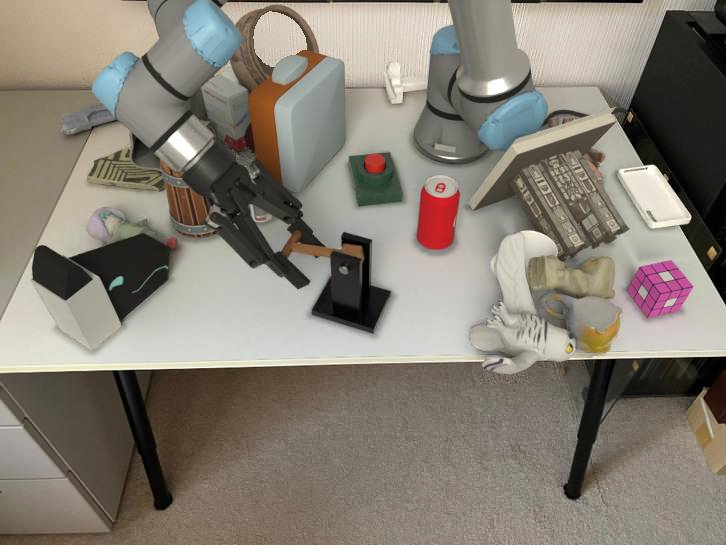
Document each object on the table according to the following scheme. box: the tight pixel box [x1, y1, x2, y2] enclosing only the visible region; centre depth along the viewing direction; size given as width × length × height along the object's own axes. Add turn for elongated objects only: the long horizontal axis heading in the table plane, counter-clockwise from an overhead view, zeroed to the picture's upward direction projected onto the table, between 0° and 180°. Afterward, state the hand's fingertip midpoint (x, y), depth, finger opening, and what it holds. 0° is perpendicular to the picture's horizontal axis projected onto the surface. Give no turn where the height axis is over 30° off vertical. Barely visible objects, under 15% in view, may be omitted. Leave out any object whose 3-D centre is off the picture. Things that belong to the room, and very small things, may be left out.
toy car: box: [221, 61, 243, 87], centre depth 135 cm, size 6×12×7 cm, turn 159°
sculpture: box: [528, 254, 616, 300], centre depth 93 cm, size 6×7×15 cm
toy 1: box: [86, 206, 178, 249], centre depth 103 cm, size 11×5×15 cm
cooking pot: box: [229, 4, 320, 94], centre depth 130 cm, size 25×19×12 cm
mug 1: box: [160, 120, 230, 239], centre depth 105 cm, size 16×11×15 cm
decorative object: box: [29, 233, 171, 352], centre depth 91 cm, size 8×18×15 cm, turn 147°
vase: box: [128, 75, 215, 172], centre depth 121 cm, size 12×12×30 cm
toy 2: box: [468, 231, 577, 375], centre depth 88 cm, size 24×13×15 cm
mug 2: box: [539, 291, 623, 355], centre depth 91 cm, size 12×7×7 cm, turn 50°
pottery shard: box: [86, 147, 166, 192], centre depth 115 cm, size 11×16×2 cm, turn 49°
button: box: [365, 153, 385, 173], centre depth 113 cm, size 4×4×2 cm
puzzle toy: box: [627, 259, 694, 319], centre depth 95 cm, size 6×6×6 cm
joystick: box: [383, 60, 428, 105], centre depth 134 cm, size 11×8×20 cm
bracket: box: [311, 231, 392, 335], centre depth 91 cm, size 10×8×13 cm
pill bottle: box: [248, 179, 274, 223], centre depth 107 cm, size 5×5×8 cm
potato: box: [245, 122, 256, 155], centre depth 120 cm, size 7×8×7 cm
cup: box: [489, 230, 558, 287], centre depth 98 cm, size 8×10×7 cm
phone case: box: [616, 164, 692, 230], centre depth 113 cm, size 7×1×15 cm
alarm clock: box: [248, 50, 347, 193], centre depth 112 cm, size 18×9×21 cm, turn 152°
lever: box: [280, 230, 365, 262], centre depth 90 cm, size 12×6×2 cm, turn 69°
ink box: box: [201, 73, 251, 151], centre depth 121 cm, size 9×5×12 cm, turn 48°
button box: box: [348, 151, 404, 207], centre depth 115 cm, size 8×12×4 cm, turn 9°
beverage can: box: [416, 174, 461, 251], centre depth 102 cm, size 6×6×12 cm
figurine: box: [547, 116, 606, 191], centre depth 119 cm, size 7×5×20 cm
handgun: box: [60, 103, 119, 136], centre depth 131 cm, size 3×22×15 cm
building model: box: [467, 106, 631, 263], centre depth 103 cm, size 20×20×18 cm
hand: (313, 269), depth 93 cm, fingers closed on lever, 6 cm apart
